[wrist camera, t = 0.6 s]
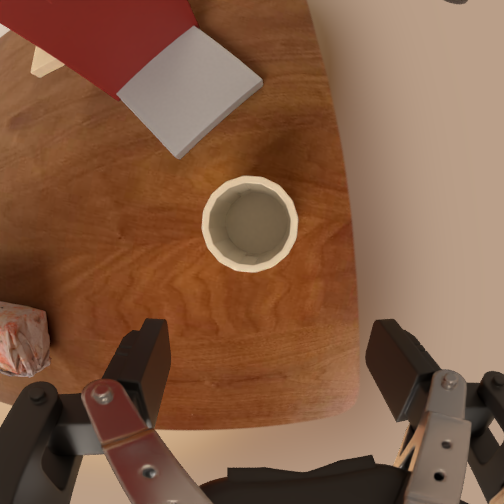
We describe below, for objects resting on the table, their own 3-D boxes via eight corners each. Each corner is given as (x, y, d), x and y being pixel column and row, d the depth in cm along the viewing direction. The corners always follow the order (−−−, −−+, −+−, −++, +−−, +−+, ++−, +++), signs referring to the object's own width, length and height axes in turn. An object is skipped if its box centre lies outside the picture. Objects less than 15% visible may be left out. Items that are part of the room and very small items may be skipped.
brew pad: (119, -7, 26) (107, -22, 22) (112, 45, 27) (97, 29, 23) (50, 26, 27) (35, 15, 24) (39, 78, 28) (22, 68, 24)
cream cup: (241, 176, 28) (228, 160, 20) (303, 208, 28) (314, 203, 20) (210, 237, 29) (186, 244, 21) (271, 269, 29) (269, 288, 21)
